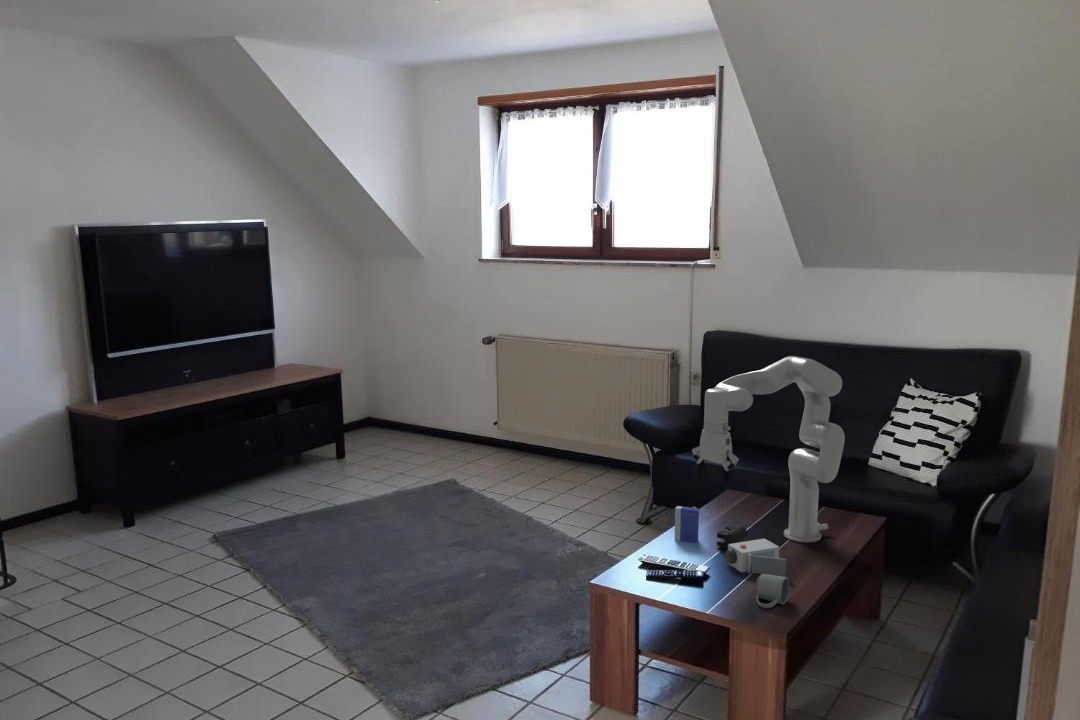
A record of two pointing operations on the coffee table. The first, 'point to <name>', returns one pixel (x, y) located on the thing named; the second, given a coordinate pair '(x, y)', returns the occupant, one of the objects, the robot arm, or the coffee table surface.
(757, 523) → the coffee table surface
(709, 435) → the robot arm
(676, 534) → the walkman
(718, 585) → the coffee table surface
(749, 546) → the camera body
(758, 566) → the side door
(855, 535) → the coffee table surface
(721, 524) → the coffee table surface
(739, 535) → the power tool battery
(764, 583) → the ceramic mug
